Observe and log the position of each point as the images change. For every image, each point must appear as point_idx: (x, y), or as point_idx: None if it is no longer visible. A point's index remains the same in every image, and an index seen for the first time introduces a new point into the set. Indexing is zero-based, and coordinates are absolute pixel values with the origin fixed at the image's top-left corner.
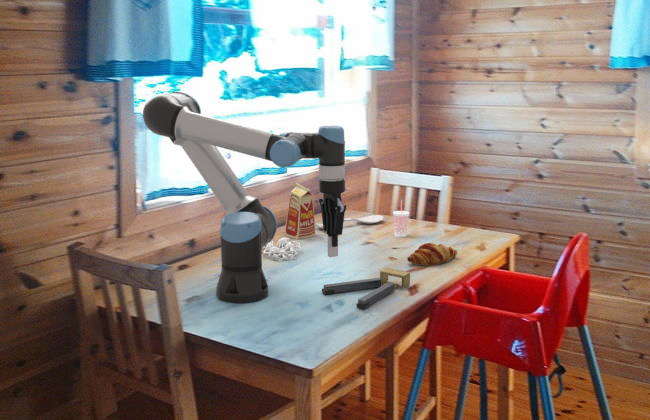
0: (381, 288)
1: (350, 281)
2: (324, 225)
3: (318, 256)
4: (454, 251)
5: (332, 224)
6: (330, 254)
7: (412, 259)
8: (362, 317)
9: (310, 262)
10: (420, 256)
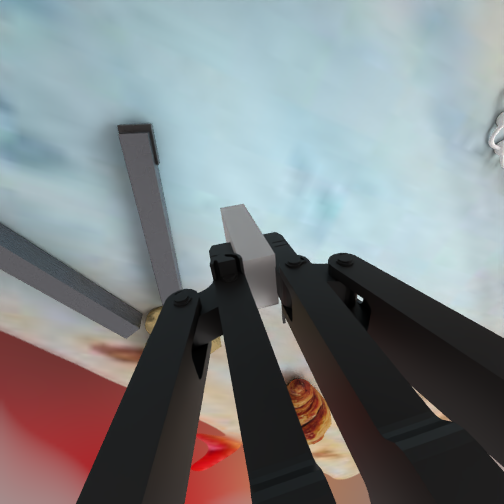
0: (79, 302)
1: (167, 237)
2: (358, 279)
3: (456, 223)
4: None
5: (226, 351)
6: (222, 215)
7: (290, 389)
8: None
9: (433, 188)
10: None
